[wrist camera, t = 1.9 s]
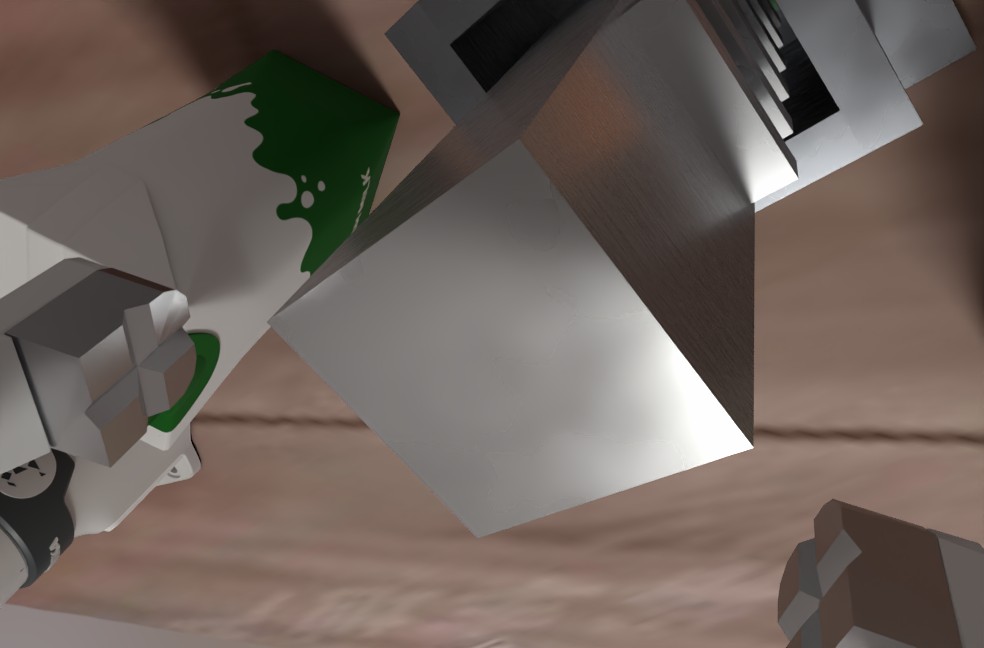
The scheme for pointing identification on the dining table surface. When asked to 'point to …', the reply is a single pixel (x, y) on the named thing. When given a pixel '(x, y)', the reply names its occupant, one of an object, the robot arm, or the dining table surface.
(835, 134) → the stand
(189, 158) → the milk carton
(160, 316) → the robot arm
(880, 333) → the dining table surface
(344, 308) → the column
